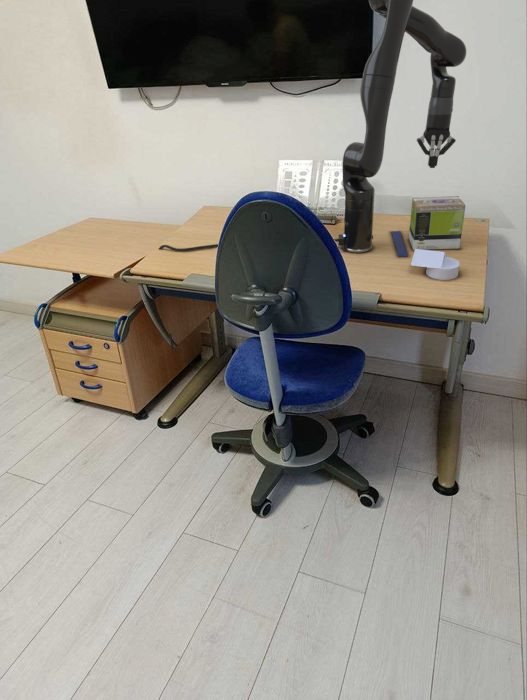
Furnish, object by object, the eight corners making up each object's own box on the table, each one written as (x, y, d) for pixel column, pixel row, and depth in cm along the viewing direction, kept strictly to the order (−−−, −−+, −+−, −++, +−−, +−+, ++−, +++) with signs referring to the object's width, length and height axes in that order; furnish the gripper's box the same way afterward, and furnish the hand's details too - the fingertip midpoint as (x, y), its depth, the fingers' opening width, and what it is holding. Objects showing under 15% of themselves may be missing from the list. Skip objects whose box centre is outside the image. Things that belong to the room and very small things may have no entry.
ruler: (398, 256, 162) (398, 255, 161) (391, 232, 180) (391, 231, 180) (407, 256, 161) (407, 255, 161) (399, 232, 179) (399, 231, 179)
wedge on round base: (409, 275, 150) (455, 281, 145) (412, 254, 146) (459, 259, 141) (415, 263, 156) (459, 269, 151) (418, 243, 153) (463, 247, 148)
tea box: (453, 238, 172) (459, 195, 163) (459, 249, 163) (466, 204, 155) (407, 239, 173) (412, 196, 165) (412, 250, 165) (416, 206, 157)
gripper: (458, 110, 167) (449, 165, 176) (417, 111, 168) (410, 165, 177) (463, 113, 160) (453, 169, 169) (420, 113, 162) (413, 169, 171)
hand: (431, 167), depth 173 cm, fingers closed
